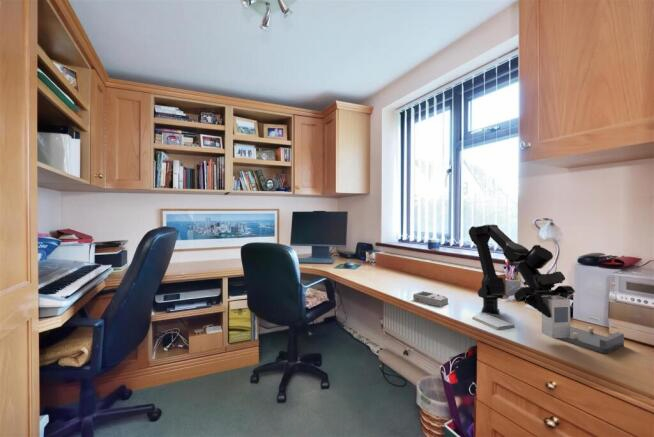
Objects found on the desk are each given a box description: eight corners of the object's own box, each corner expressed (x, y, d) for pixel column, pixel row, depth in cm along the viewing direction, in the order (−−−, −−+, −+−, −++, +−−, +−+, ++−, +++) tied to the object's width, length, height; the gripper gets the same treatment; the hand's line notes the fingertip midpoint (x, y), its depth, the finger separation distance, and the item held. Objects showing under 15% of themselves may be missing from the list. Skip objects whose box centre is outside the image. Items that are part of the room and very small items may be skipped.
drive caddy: (541, 332, 96) (541, 296, 96) (558, 332, 97) (558, 295, 97) (552, 338, 92) (552, 300, 92) (570, 337, 93) (570, 299, 93)
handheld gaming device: (440, 307, 134) (440, 299, 134) (412, 300, 145) (412, 293, 145) (449, 304, 139) (449, 296, 139) (422, 297, 151) (422, 290, 151)
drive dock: (547, 334, 101) (547, 323, 101) (565, 328, 106) (565, 318, 106) (606, 354, 87) (606, 341, 87) (623, 346, 92) (623, 333, 92)
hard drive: (514, 324, 108) (487, 313, 120) (497, 327, 106) (472, 315, 118) (514, 328, 108) (487, 317, 120) (498, 331, 106) (472, 319, 118)
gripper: (520, 264, 97) (548, 306, 86) (569, 262, 99) (603, 303, 88) (504, 281, 105) (527, 322, 94) (550, 279, 107) (578, 319, 96)
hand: (559, 316), depth 93 cm, fingers closed on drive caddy, 6 cm apart
